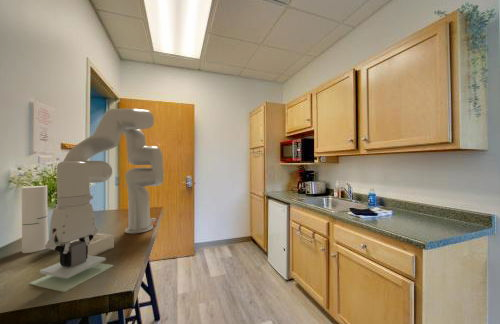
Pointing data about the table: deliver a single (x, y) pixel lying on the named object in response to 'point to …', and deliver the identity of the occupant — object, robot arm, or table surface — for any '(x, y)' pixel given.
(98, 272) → the mat
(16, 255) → the table surface
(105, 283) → the table surface
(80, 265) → the lid
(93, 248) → the open square tray
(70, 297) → the table surface
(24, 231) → the cylindrical container
